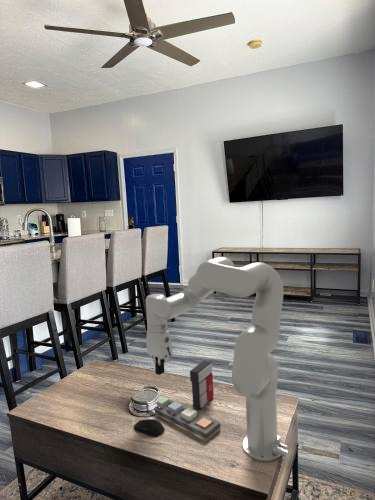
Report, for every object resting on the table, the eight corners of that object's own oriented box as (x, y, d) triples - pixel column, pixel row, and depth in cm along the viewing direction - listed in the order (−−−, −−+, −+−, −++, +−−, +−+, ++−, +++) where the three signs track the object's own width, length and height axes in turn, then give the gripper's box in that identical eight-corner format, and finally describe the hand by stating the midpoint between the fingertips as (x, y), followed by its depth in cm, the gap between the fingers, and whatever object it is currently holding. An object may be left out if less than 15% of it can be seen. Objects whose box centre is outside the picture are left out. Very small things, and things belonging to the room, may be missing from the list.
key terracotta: (212, 427, 124) (212, 421, 124) (205, 432, 121) (204, 427, 121) (203, 422, 127) (203, 417, 127) (196, 428, 124) (195, 422, 124)
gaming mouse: (133, 420, 133) (132, 410, 133) (167, 429, 126) (167, 419, 126) (123, 430, 127) (122, 419, 127) (158, 440, 121) (157, 429, 120)
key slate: (182, 409, 133) (182, 404, 133) (175, 414, 130) (175, 409, 130) (175, 406, 136) (174, 401, 136) (167, 411, 133) (167, 406, 133)
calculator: (201, 410, 137) (199, 373, 135) (191, 407, 139) (189, 370, 137) (214, 397, 146) (213, 362, 144) (205, 394, 148) (203, 360, 146)
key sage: (169, 403, 138) (169, 398, 138) (162, 408, 135) (161, 403, 135) (162, 400, 141) (162, 395, 140) (155, 404, 138) (154, 400, 138)
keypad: (220, 429, 124) (220, 422, 124) (206, 441, 118) (205, 433, 118) (162, 402, 144) (162, 396, 143) (148, 411, 138) (147, 405, 138)
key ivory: (196, 416, 129) (196, 411, 128) (189, 421, 126) (189, 416, 125) (188, 412, 131) (188, 407, 131) (181, 417, 128) (181, 412, 128)
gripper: (178, 328, 132) (180, 375, 134) (151, 320, 142) (154, 364, 144) (164, 334, 127) (166, 382, 129) (136, 326, 137) (139, 371, 139)
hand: (160, 373), depth 136 cm, fingers closed
